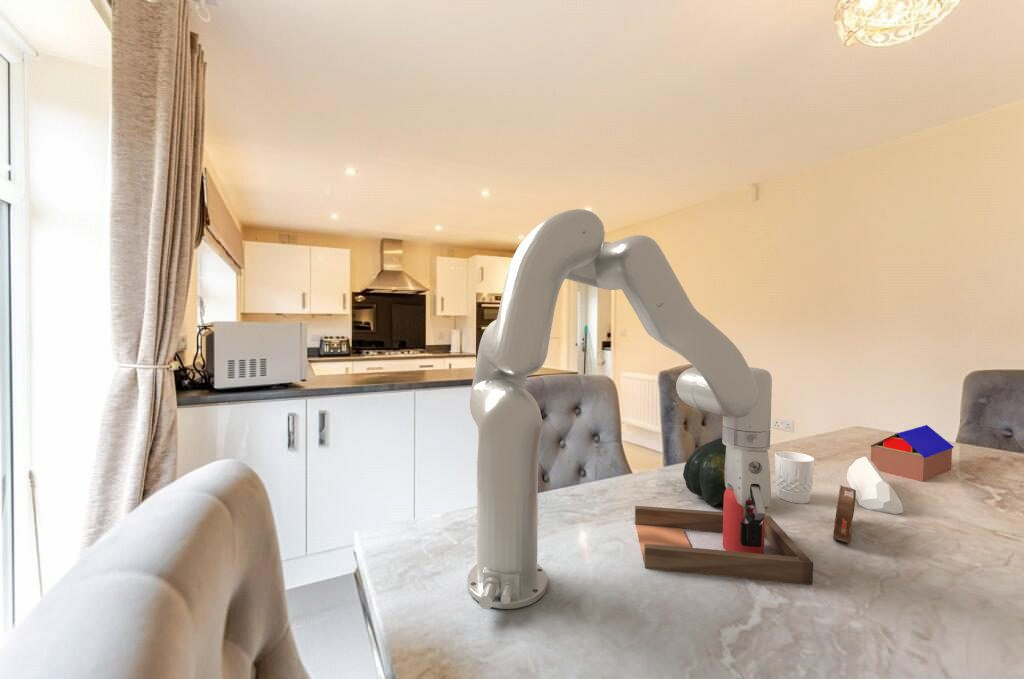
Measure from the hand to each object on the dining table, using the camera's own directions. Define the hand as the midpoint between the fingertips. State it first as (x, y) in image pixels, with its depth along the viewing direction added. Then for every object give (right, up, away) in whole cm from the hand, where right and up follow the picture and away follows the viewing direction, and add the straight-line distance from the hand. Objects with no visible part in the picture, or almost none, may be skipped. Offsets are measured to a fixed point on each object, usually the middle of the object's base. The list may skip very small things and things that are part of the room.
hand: (743, 534), depth 78 cm
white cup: (+25, -2, +24) cm, 35 cm away
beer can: (0, -3, 0) cm, 3 cm away
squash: (+6, -2, +23) cm, 24 cm away
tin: (+24, -3, +7) cm, 25 cm away
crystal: (+44, -3, +26) cm, 51 cm away
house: (+71, -2, +44) cm, 84 cm away
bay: (-6, -3, +1) cm, 7 cm away
